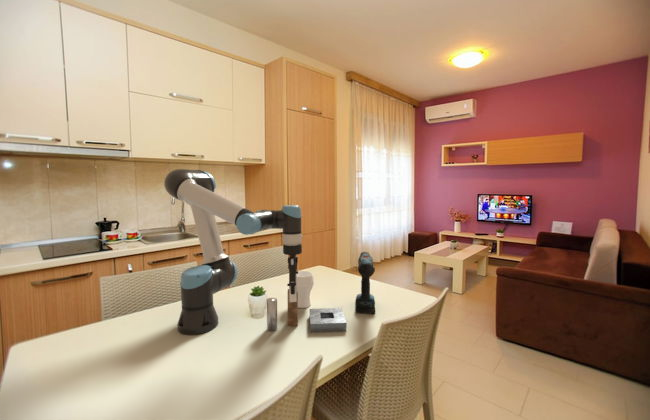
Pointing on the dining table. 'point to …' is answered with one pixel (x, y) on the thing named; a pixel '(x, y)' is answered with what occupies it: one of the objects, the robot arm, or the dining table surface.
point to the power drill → (365, 285)
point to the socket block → (327, 320)
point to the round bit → (271, 314)
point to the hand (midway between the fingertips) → (293, 295)
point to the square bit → (293, 311)
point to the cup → (304, 288)
